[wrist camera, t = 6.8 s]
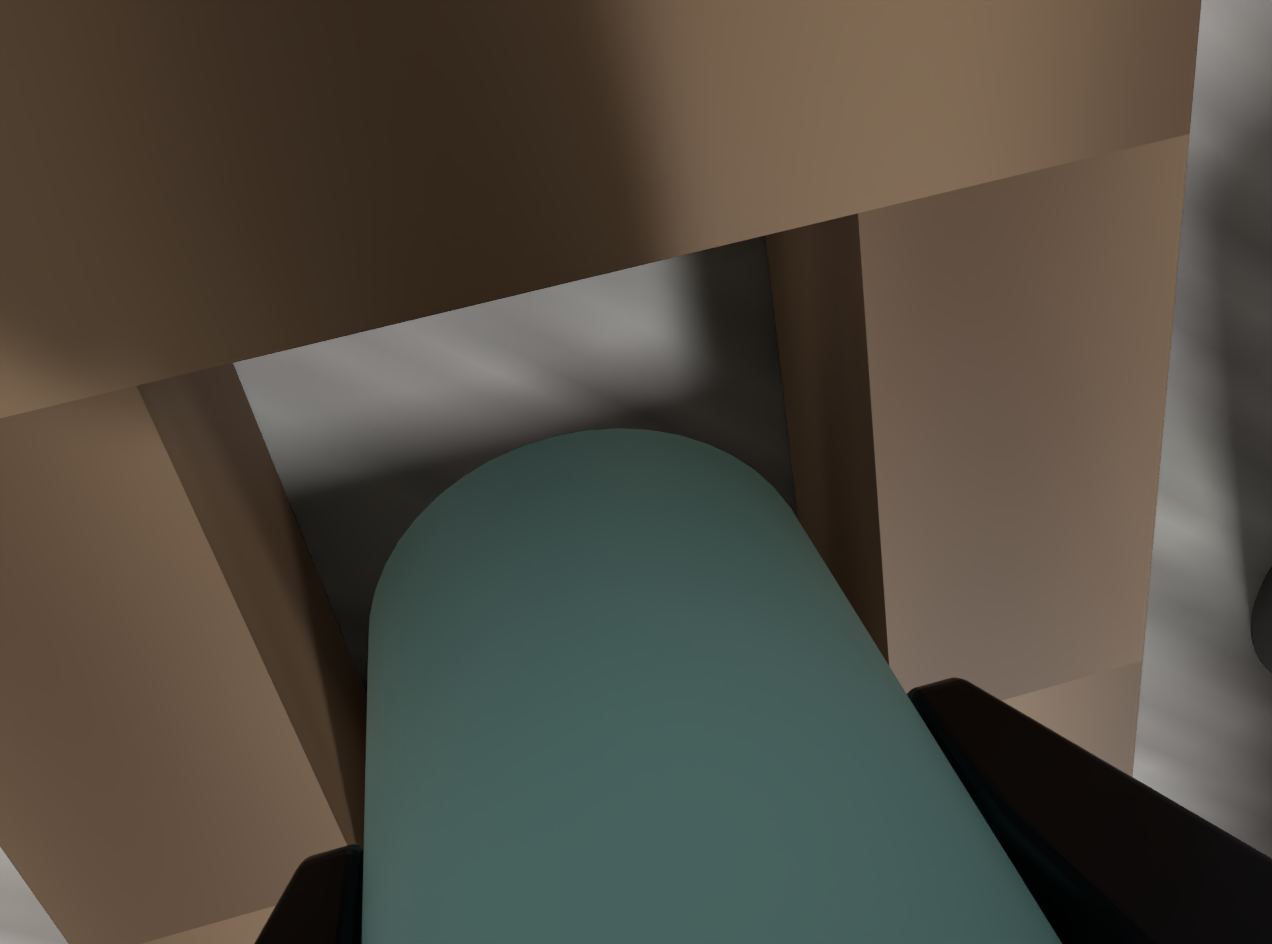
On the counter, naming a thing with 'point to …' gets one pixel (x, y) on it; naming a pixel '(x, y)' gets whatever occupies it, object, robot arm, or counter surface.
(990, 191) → the socket block
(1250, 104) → the counter surface
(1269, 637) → the black dowel
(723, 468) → the peg
